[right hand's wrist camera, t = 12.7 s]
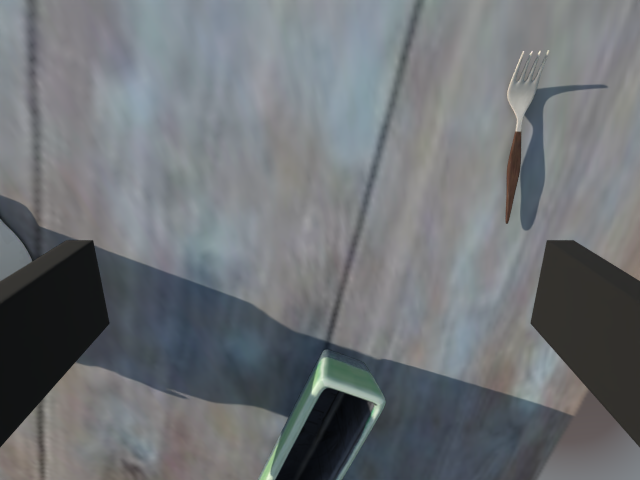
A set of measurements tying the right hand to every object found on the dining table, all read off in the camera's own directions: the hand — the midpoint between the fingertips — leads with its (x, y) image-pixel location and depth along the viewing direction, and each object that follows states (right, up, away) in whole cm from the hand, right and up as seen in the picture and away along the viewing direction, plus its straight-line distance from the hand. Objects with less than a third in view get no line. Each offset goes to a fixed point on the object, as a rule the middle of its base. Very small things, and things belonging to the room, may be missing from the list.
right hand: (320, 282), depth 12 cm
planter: (-2, -22, +38) cm, 44 cm away
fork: (+19, +11, +28) cm, 36 cm away
